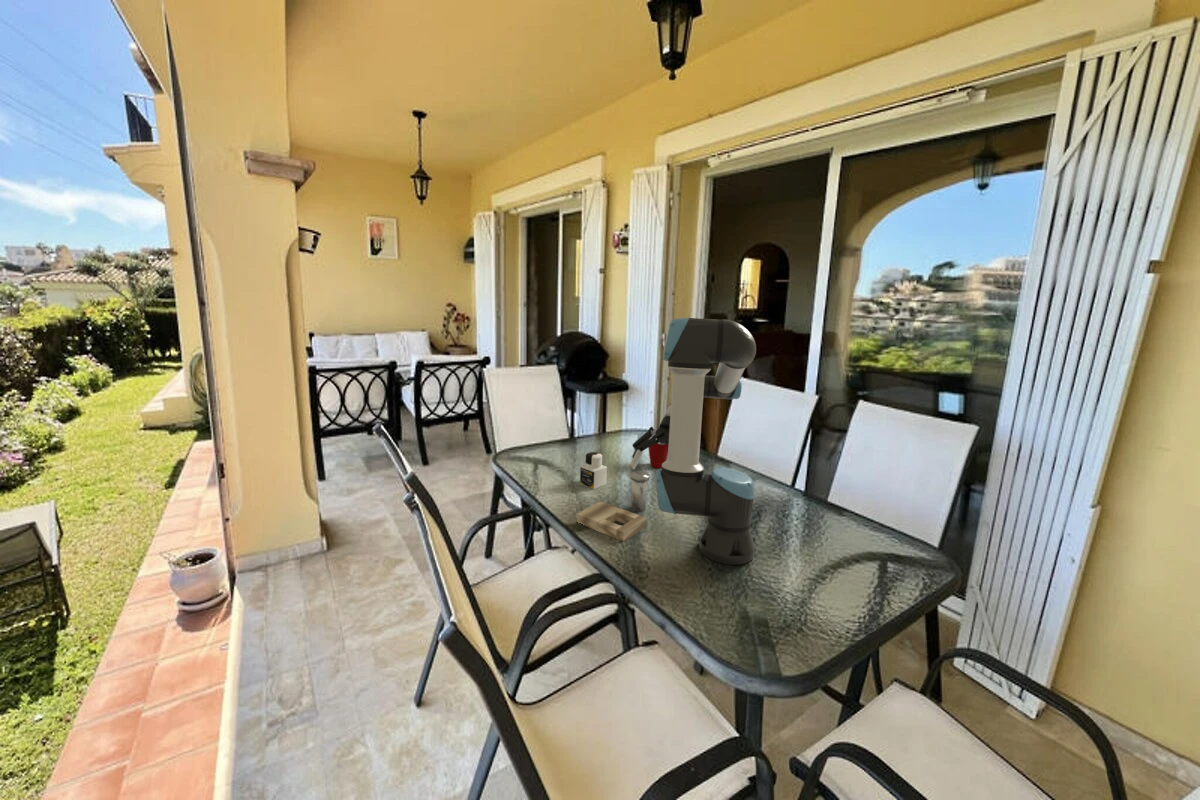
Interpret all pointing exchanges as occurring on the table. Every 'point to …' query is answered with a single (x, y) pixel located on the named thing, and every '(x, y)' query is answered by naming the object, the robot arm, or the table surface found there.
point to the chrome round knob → (639, 490)
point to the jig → (611, 520)
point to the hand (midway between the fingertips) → (648, 472)
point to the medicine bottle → (593, 471)
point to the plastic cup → (658, 454)
